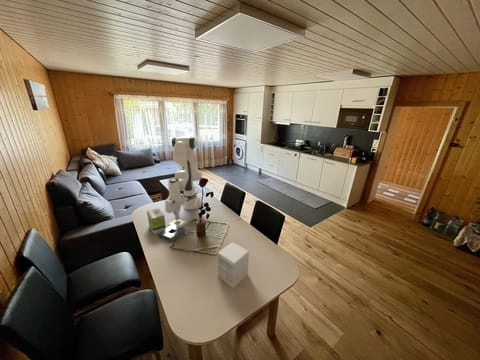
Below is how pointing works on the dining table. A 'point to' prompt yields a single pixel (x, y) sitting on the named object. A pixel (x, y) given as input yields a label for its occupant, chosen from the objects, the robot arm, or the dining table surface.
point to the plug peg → (177, 214)
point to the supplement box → (233, 264)
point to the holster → (179, 222)
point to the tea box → (156, 220)
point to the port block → (168, 232)
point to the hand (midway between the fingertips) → (176, 212)
